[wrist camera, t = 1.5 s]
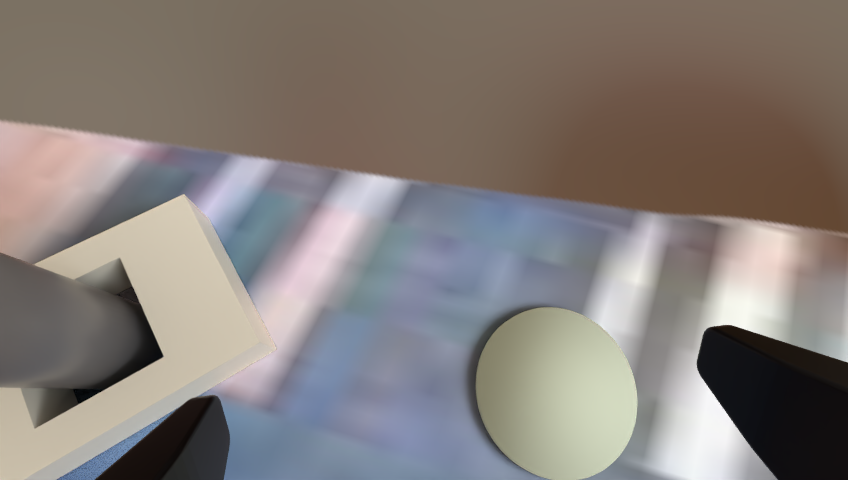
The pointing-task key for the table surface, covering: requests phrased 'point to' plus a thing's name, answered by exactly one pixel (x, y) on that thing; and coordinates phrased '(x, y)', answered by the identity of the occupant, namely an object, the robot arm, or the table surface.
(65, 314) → the plug
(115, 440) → the square frame
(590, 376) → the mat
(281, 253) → the table surface
